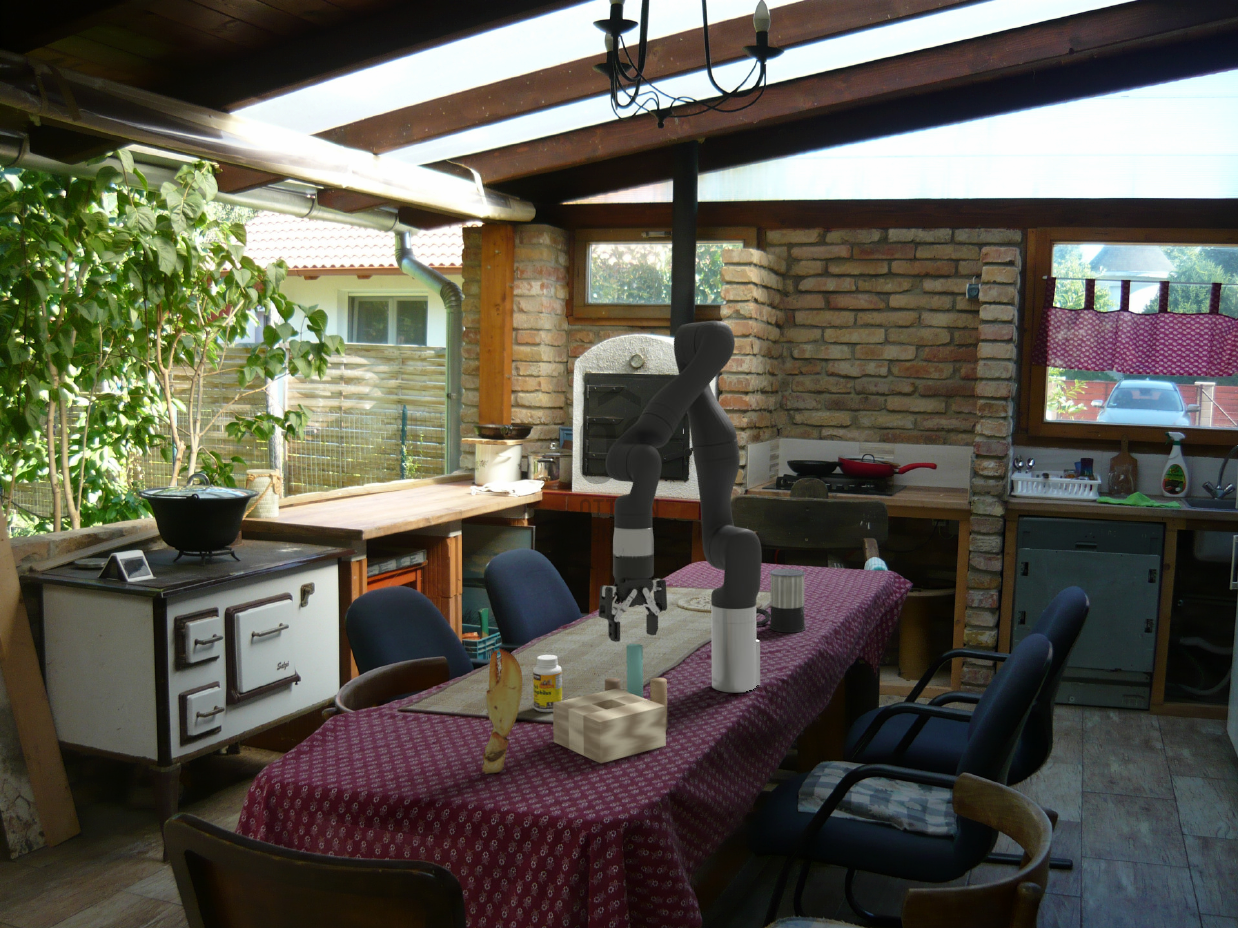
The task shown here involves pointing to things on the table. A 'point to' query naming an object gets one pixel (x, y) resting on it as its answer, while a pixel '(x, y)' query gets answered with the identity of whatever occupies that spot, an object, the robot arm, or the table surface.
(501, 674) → the crab claw
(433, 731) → the table surface
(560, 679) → the supplement bottle
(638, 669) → the long pin
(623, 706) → the hole block
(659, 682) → the medium pin
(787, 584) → the milk frother
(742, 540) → the robot arm
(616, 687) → the short pin
